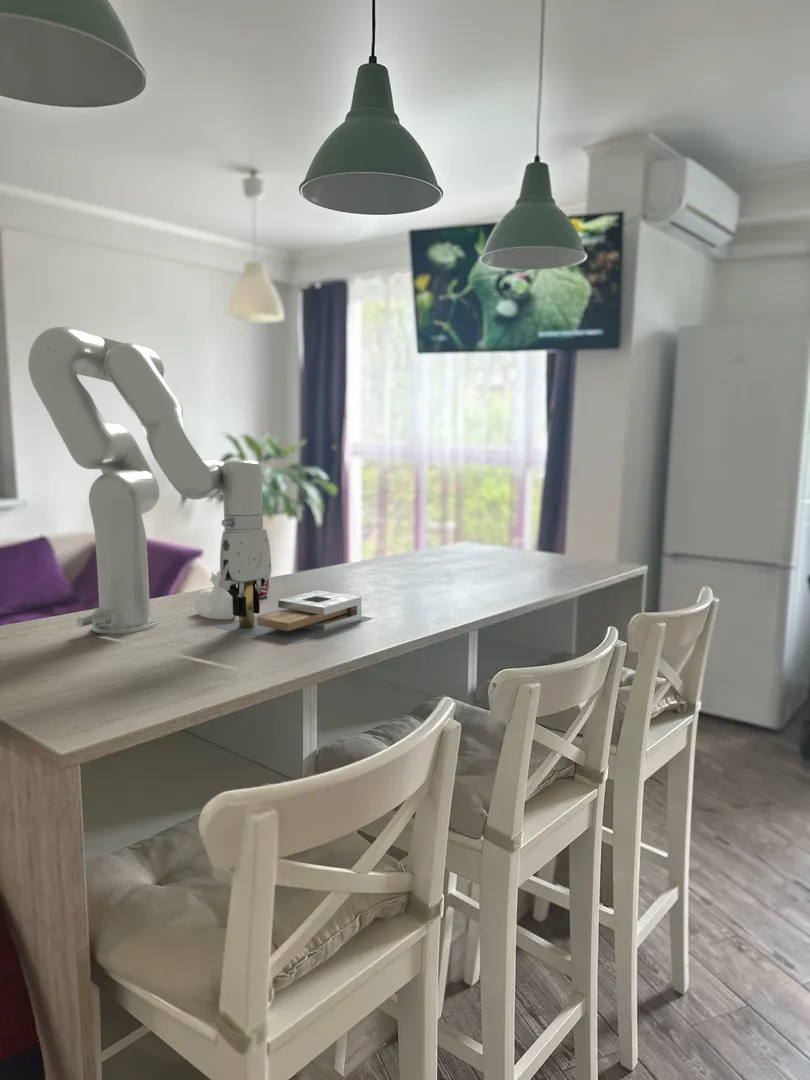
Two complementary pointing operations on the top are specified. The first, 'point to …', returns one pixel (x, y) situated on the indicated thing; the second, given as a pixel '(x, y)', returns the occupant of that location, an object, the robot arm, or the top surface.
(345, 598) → the clevis
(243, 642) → the top surface
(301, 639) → the mat
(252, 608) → the brass pin
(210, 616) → the duck figurine
